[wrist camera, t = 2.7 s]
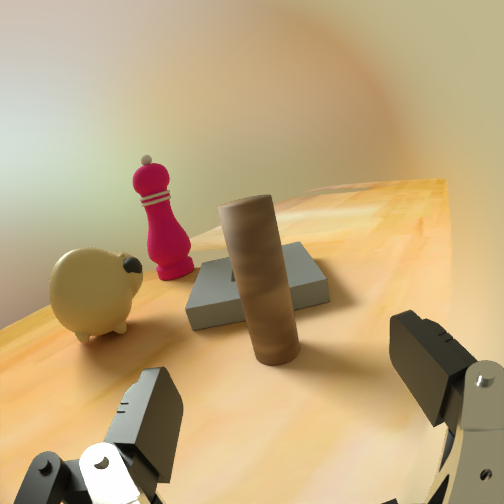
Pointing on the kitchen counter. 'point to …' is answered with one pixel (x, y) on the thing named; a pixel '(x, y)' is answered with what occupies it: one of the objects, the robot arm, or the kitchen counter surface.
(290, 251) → the socket
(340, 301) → the kitchen counter surface
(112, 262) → the beige animal figure
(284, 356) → the pin
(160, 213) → the pepper mill
